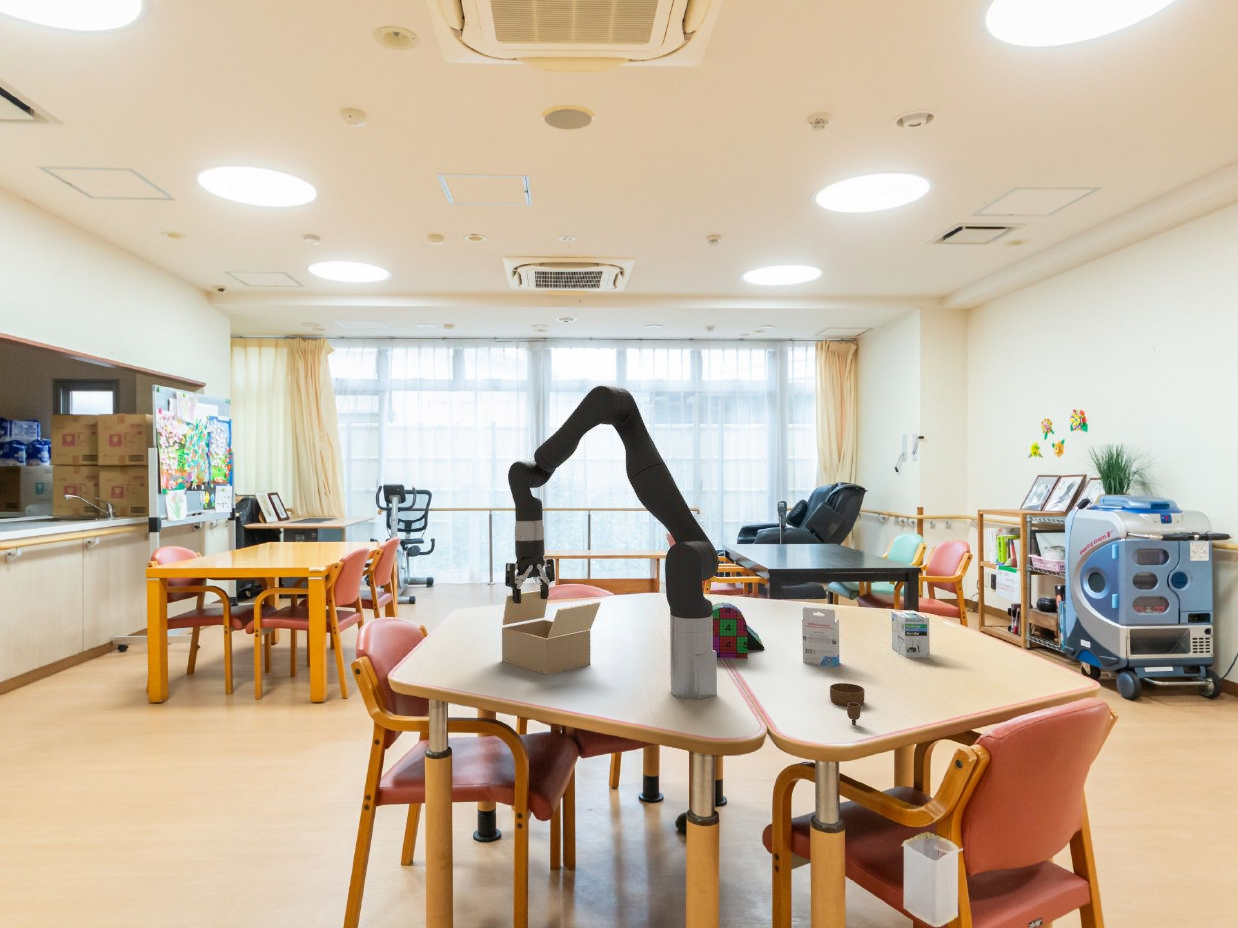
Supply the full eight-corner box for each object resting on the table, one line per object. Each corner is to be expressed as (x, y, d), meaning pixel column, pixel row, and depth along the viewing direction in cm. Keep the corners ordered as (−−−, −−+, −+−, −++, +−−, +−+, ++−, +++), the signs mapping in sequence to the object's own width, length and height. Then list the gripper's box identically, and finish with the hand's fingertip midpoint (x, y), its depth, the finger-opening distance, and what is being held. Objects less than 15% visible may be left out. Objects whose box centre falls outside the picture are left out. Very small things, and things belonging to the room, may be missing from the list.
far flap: (549, 589, 195) (547, 588, 195) (508, 595, 185) (507, 594, 186) (544, 617, 196) (543, 616, 196) (503, 625, 187) (502, 624, 187)
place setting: (900, 713, 152) (900, 684, 152) (860, 740, 137) (860, 708, 137) (822, 695, 164) (821, 669, 164) (777, 719, 149) (777, 689, 149)
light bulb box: (930, 658, 193) (930, 617, 193) (904, 658, 193) (904, 617, 193) (915, 648, 204) (914, 609, 204) (890, 648, 204) (890, 609, 204)
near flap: (589, 627, 183) (590, 629, 183) (547, 636, 174) (549, 637, 174) (599, 601, 180) (600, 602, 180) (557, 608, 171) (559, 610, 171)
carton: (590, 669, 183) (590, 629, 183) (546, 681, 174) (546, 639, 174) (545, 656, 196) (545, 619, 196) (502, 666, 187) (501, 627, 187)
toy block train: (768, 661, 191) (768, 607, 191) (703, 660, 193) (702, 606, 193) (757, 639, 216) (757, 591, 216) (699, 638, 218) (699, 590, 218)
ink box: (840, 664, 188) (839, 606, 188) (836, 669, 183) (836, 609, 183) (806, 660, 192) (806, 603, 192) (802, 664, 187) (801, 606, 187)
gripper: (515, 540, 182) (517, 606, 182) (560, 536, 192) (561, 598, 192) (498, 539, 187) (499, 603, 187) (542, 535, 197) (543, 596, 197)
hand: (531, 601), depth 189 cm, fingers open, 8 cm apart
